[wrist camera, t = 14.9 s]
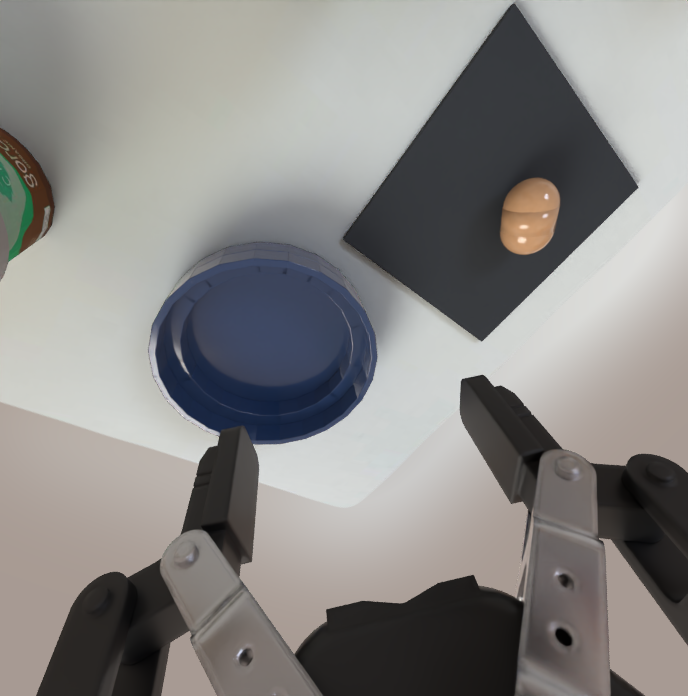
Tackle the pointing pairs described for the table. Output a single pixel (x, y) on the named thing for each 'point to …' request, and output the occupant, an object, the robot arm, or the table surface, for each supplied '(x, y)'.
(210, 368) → the basin
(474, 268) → the mat
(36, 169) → the food container
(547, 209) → the bread roll
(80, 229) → the table surface
